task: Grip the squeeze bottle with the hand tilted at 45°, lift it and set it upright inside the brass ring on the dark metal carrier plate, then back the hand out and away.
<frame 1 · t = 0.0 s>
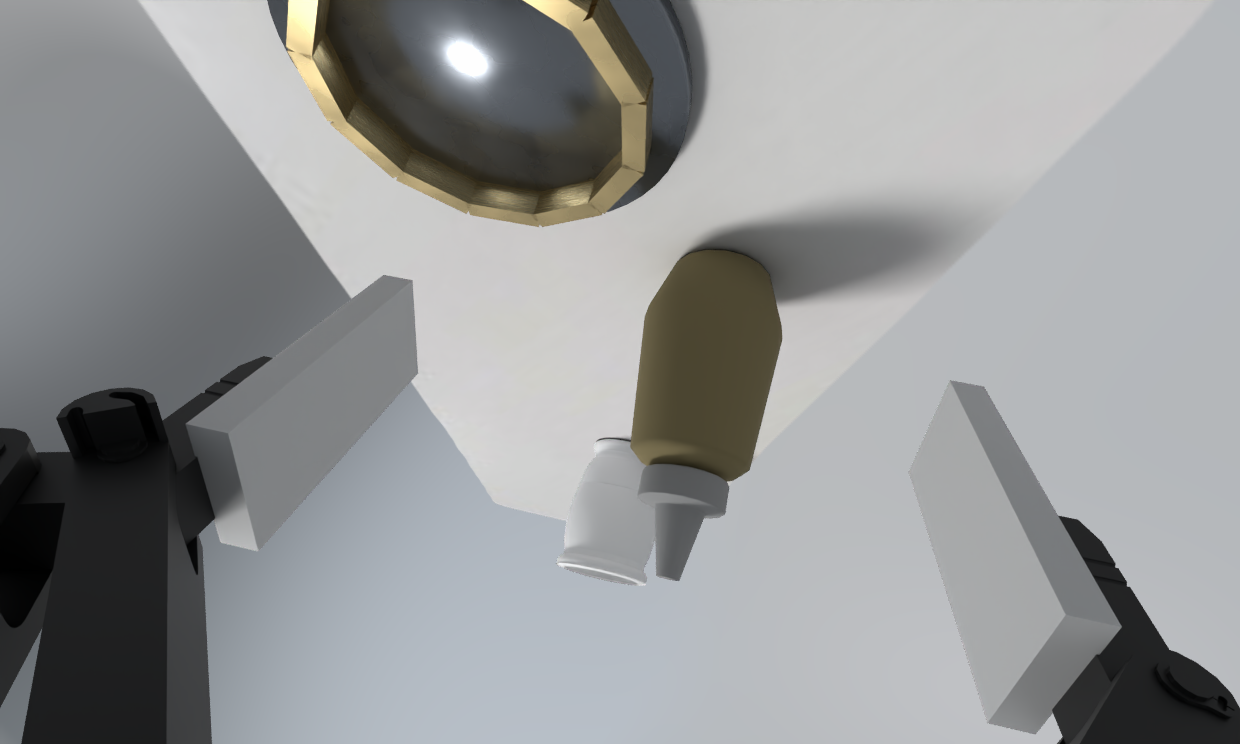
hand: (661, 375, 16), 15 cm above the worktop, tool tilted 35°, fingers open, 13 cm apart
squeeze bottle: (722, 272, 39), on the worktop
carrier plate: (489, 71, 28), on the worktop
jar: (628, 448, 79), on the worktop
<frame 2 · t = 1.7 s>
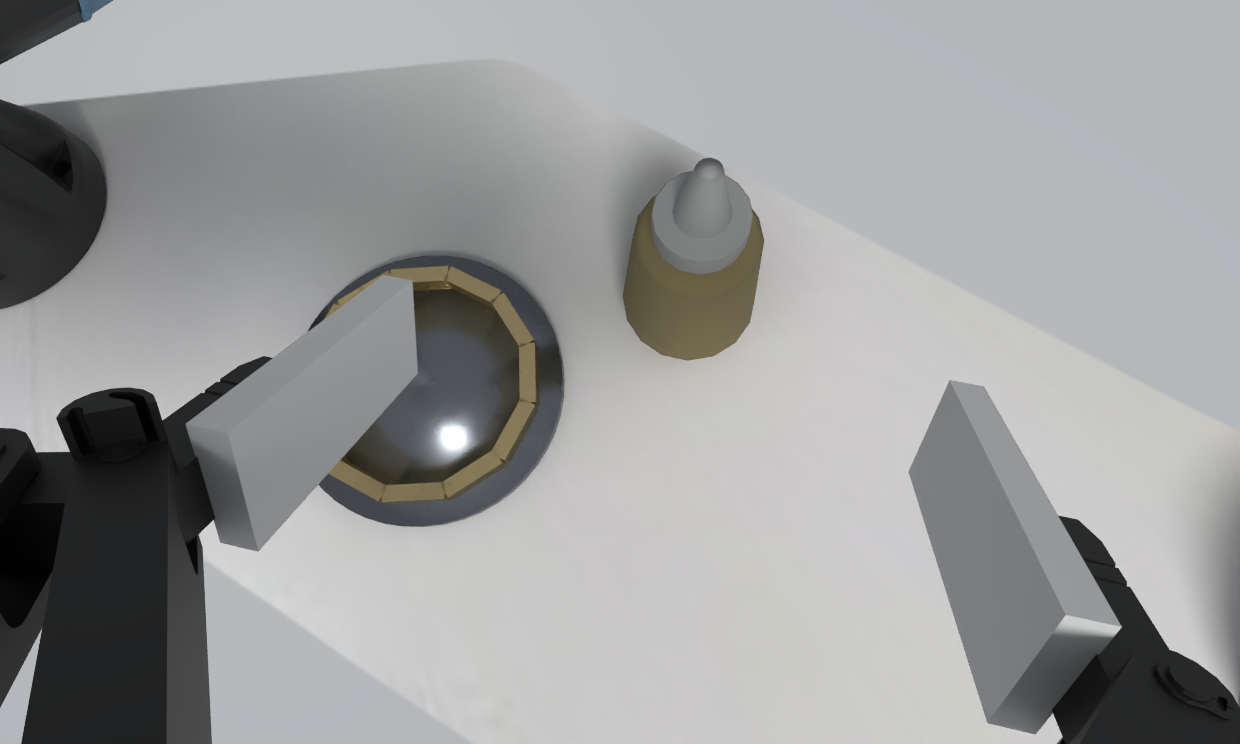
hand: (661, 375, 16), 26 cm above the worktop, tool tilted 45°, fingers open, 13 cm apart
squeeze bottle: (685, 317, 44), on the worktop
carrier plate: (429, 387, 43), on the worktop
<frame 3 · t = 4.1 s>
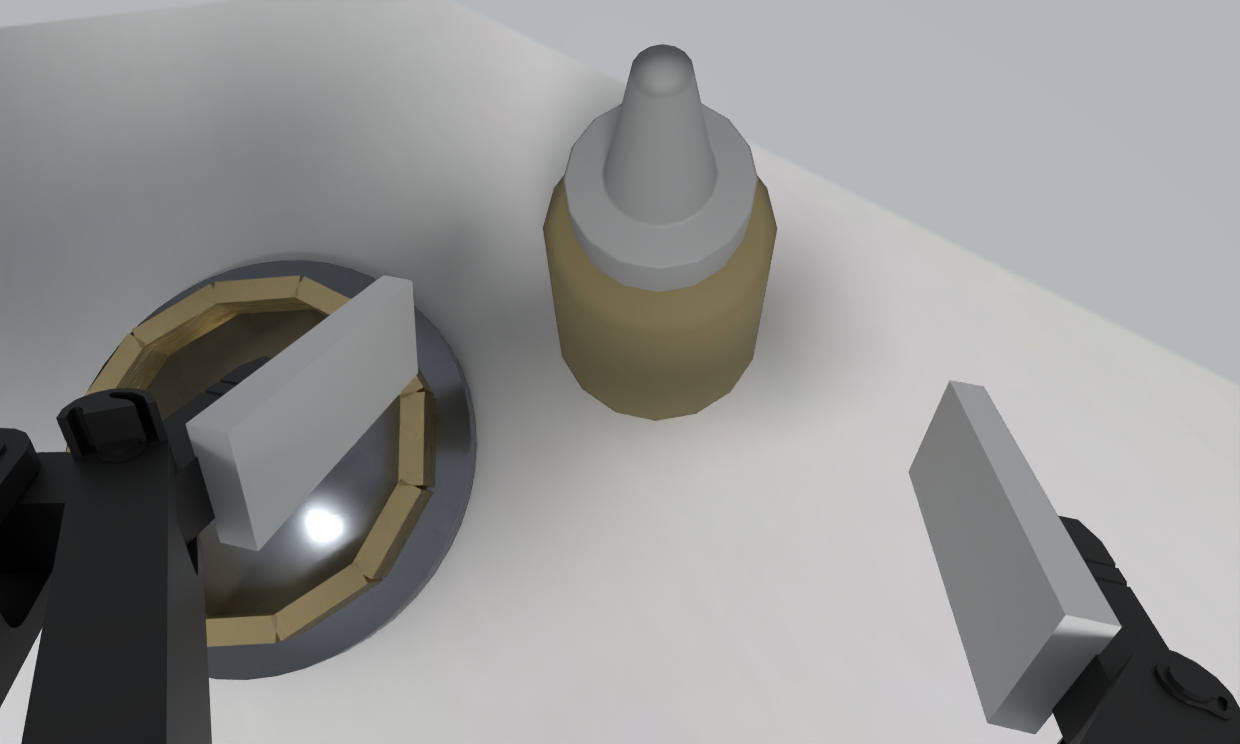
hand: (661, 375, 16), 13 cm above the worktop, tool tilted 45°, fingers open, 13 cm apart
squeeze bottle: (656, 347, 29), on the worktop
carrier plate: (277, 456, 29), on the worktop
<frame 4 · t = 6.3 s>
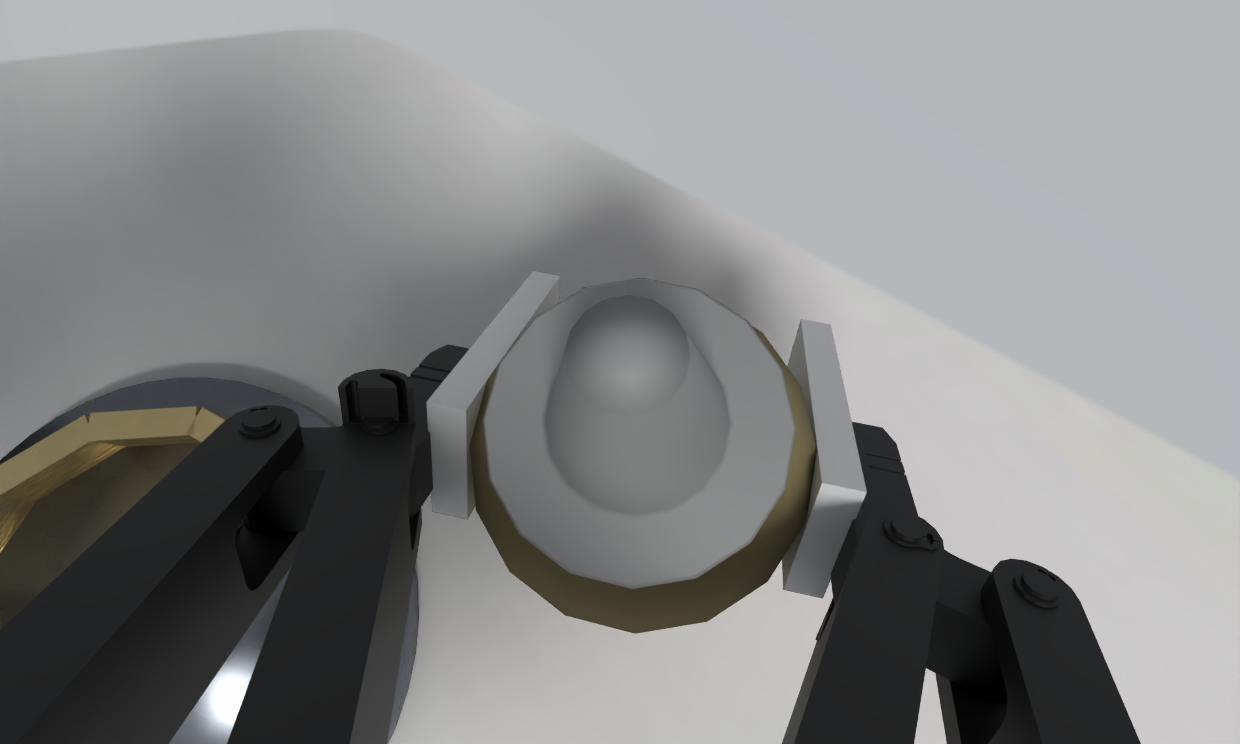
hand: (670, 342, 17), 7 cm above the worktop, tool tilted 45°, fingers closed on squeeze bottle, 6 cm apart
squeeze bottle: (646, 492, 24), on the worktop, touching gripper
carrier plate: (169, 629, 23), on the worktop
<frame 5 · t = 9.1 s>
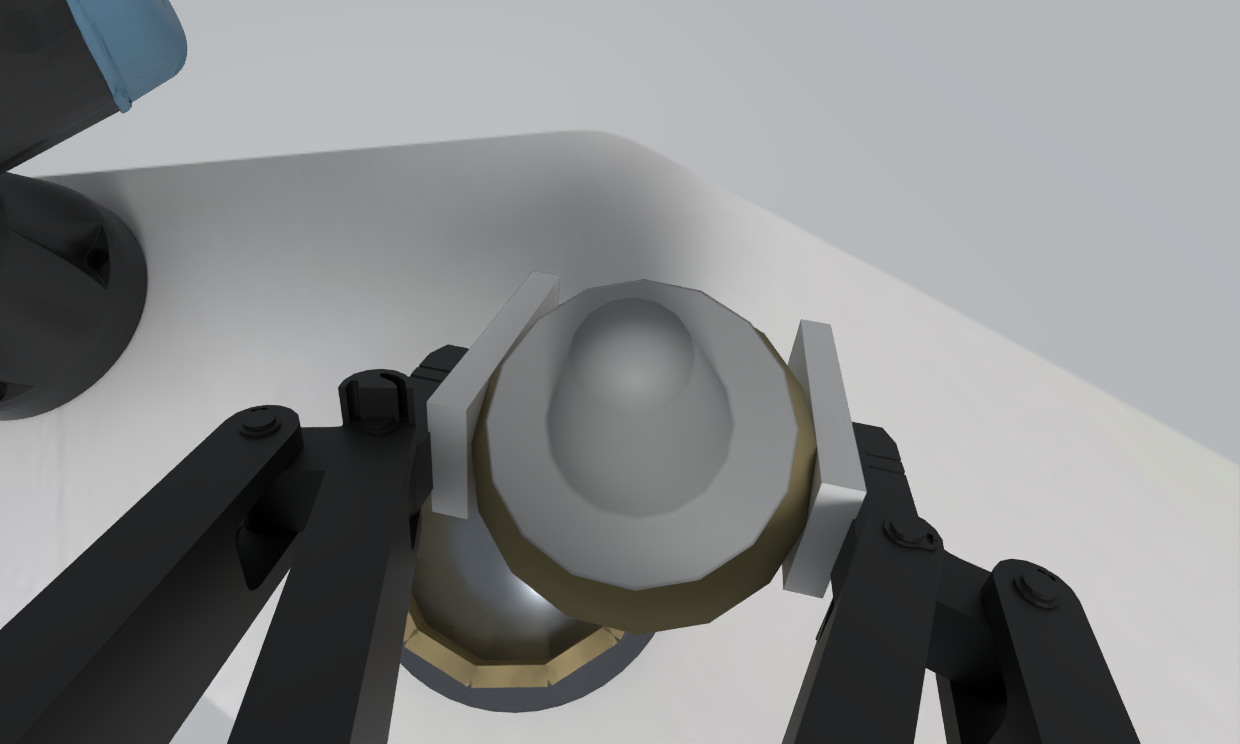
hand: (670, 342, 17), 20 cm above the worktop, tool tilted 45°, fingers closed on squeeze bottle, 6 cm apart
squeeze bottle: (647, 492, 24), point 13 cm above the worktop, touching gripper
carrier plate: (521, 531, 36), on the worktop
when the fingers open (9 cm above the worktop, at t = 12.1 s): squeeze bottle drops 1 cm, resting on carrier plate.
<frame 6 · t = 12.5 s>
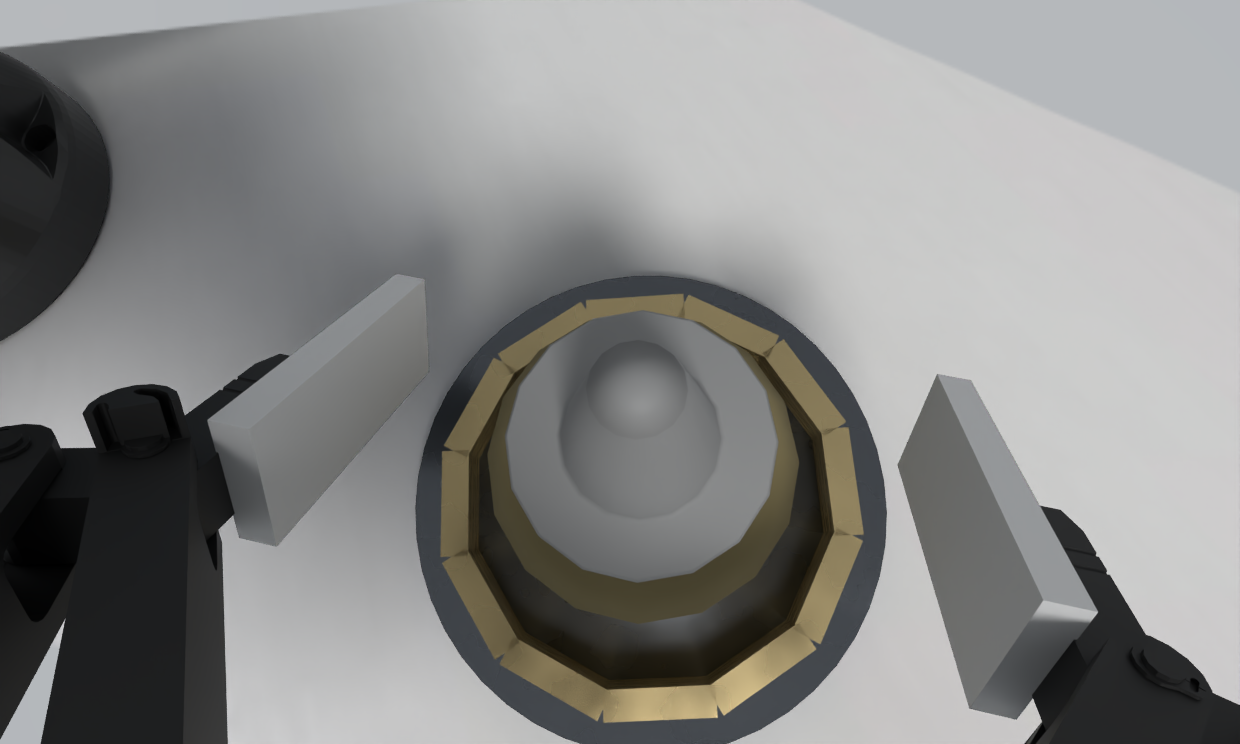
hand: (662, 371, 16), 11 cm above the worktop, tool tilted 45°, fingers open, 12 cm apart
squeeze bottle: (644, 496, 25), point 1 cm above the worktop, touching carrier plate
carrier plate: (647, 495, 26), on the worktop
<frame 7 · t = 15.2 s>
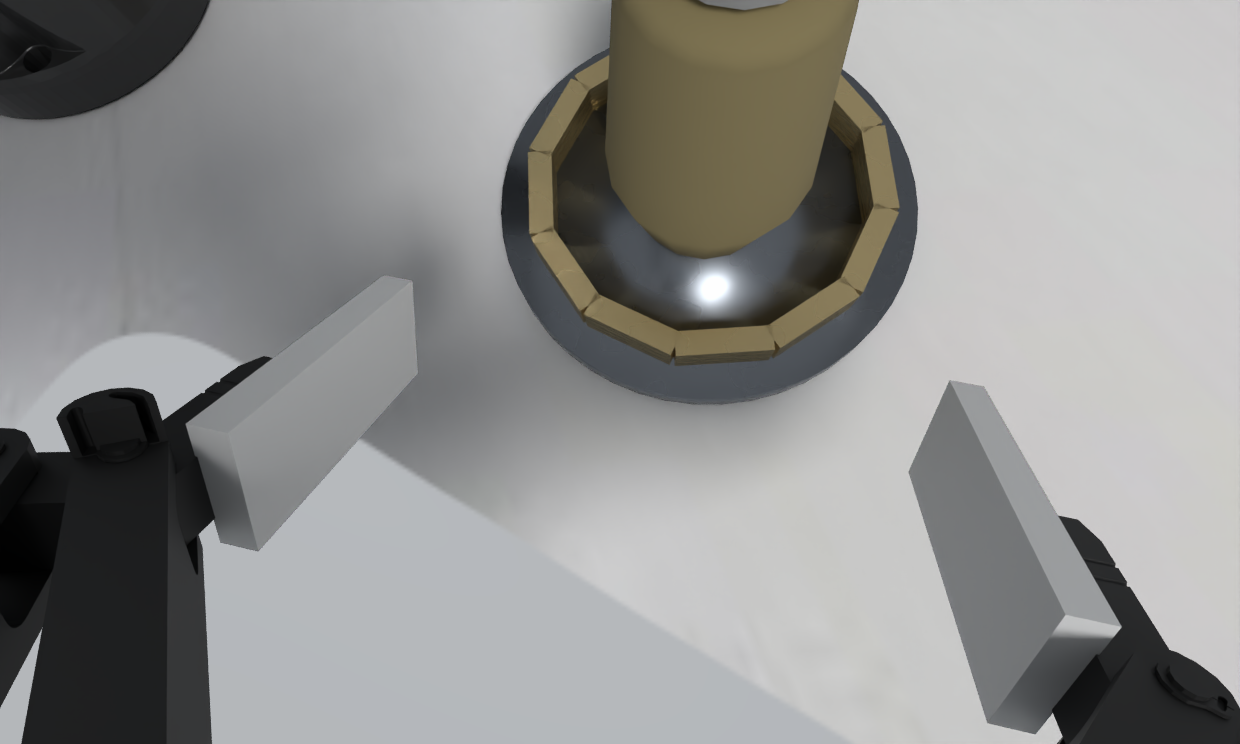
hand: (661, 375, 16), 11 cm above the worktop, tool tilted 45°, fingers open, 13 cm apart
squeeze bottle: (703, 201, 28), point 1 cm above the worktop, touching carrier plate
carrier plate: (704, 208, 29), on the worktop
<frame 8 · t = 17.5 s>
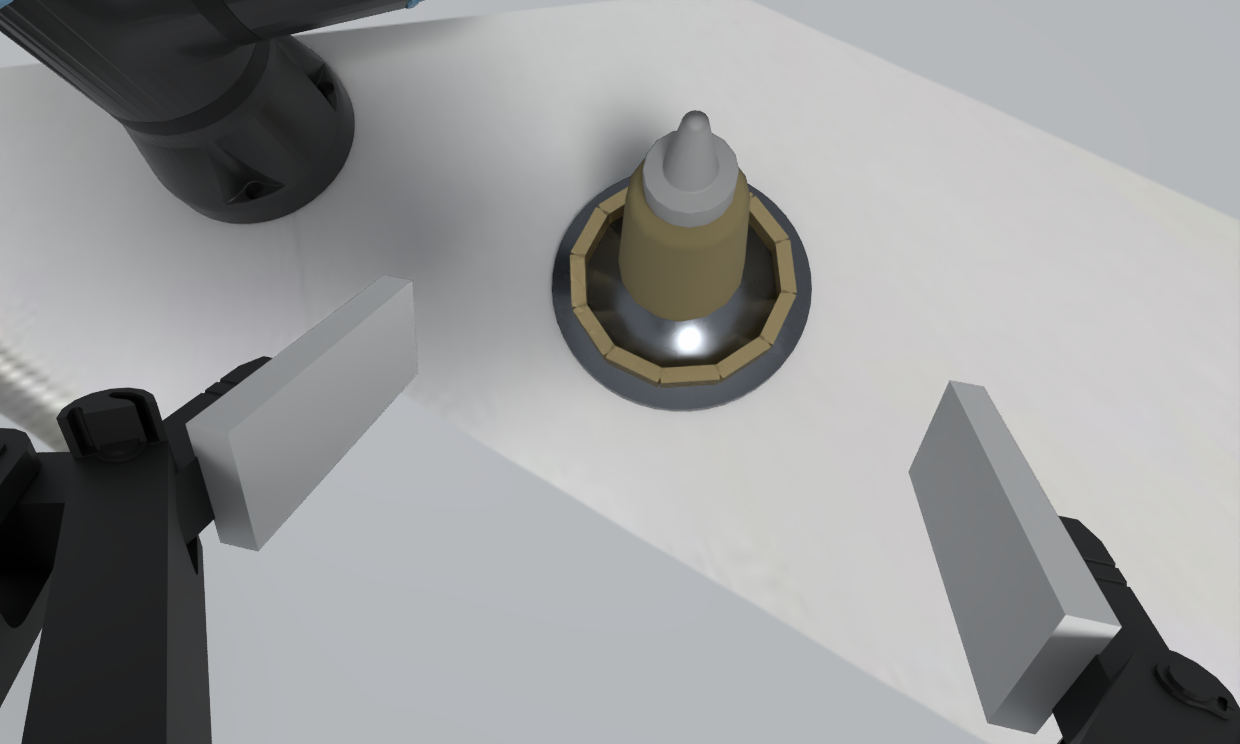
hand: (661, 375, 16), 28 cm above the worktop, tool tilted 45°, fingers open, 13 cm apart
squeeze bottle: (678, 283, 45), point 1 cm above the worktop, touching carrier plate
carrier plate: (679, 287, 46), on the worktop
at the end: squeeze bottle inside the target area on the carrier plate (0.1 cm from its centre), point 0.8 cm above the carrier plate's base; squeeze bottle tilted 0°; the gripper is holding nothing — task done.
